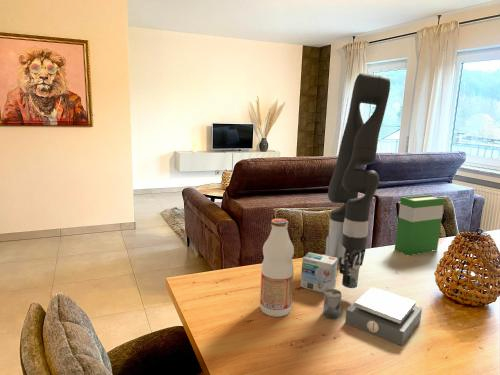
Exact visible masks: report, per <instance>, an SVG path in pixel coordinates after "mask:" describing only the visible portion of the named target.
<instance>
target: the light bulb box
mask: <svg viewBox="0 0 500 375" xmlns="http://www.w3.org/2000/svg"><path fill="white" fill-rule="evenodd" d="M301 261H302V262H301V277H300V287H301V288H305V289H308V290H312V291H316V292H319V293H322V294H325V290H327V289H335V288H336V284H337V283H336V282H337V271H338V264H337V261H338V258H335V257H330V256H325V254H322V253H321V254H320V253H314V252H311V251H308V252H307V253H306V254H305V255H304V256H303V257H302V259H301Z"/></svg>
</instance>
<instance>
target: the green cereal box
mask: <svg viewBox="0 0 500 375" xmlns="http://www.w3.org/2000/svg"><path fill="white" fill-rule="evenodd" d="M445 199H446V198H445V197H439V198H437V197H434V196H433V194H425V195H424V194H423V195H410V196H401V197H400V201H399V203H400V204H399V211H398V219H397V227H396V235H395V236H396V237H395V243H394V245H395V246H394V250H395V251H396V250H397V252H399V253H401V252H402V253H401V254H403V253H404V254H403V255H405V254H406V255H405V256H407V255H409V256H414V255H413V254H415V255H419V254H418V253H421V254H424V253H423V252H427V253H429V252H428V251H432V250H437V251H438V249H439V248H438V247H439V240H440V233H441V232H440V231H441V225H442V219H443V213H444V212H443V211H444V204H445ZM432 252H433V251H432Z"/></svg>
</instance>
